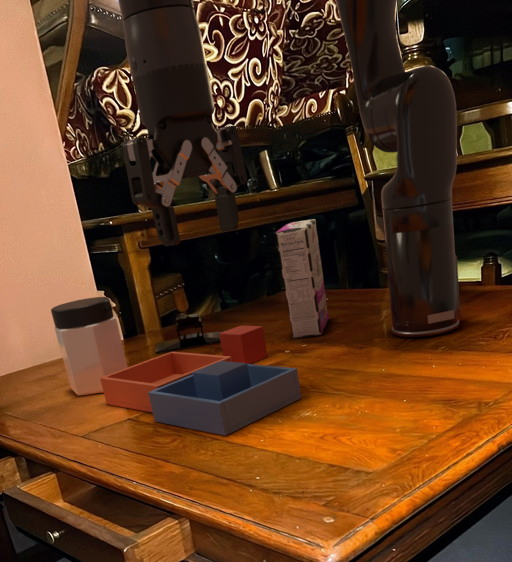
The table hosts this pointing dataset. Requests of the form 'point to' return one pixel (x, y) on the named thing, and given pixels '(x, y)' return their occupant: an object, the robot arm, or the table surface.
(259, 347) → the red block
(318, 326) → the candy bar box
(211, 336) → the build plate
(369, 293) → the table surface
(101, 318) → the jar
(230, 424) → the blue bin
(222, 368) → the blue block
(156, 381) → the terracotta bin
